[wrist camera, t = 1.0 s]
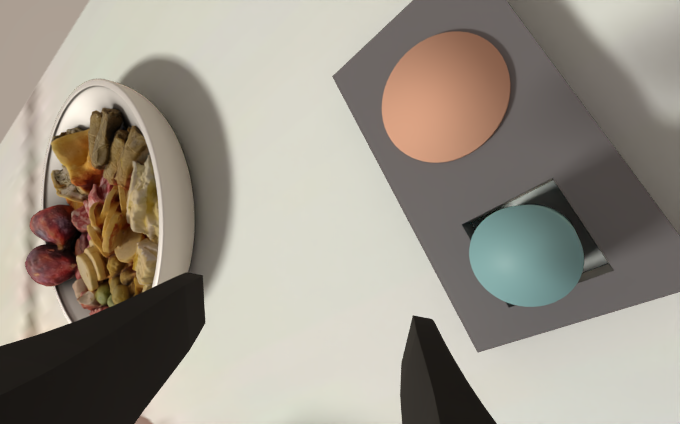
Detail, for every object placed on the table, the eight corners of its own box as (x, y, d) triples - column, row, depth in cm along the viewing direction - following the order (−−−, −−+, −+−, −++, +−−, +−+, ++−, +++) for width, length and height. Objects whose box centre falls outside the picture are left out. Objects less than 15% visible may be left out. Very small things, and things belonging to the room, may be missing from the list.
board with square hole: (696, 272, 15) (713, 281, 13) (484, 339, 20) (477, 352, 18) (476, -31, 20) (468, -52, 18) (348, 85, 25) (332, 76, 23)
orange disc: (515, 20, 17) (515, 17, 17) (505, 162, 17) (504, 162, 17) (387, 47, 21) (385, 45, 20) (380, 163, 21) (378, 162, 21)
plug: (581, 206, 17) (588, 209, 12) (574, 284, 18) (579, 317, 12) (495, 202, 19) (472, 202, 14) (490, 271, 20) (465, 295, 15)
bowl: (149, 35, 39) (66, 2, 33) (252, 264, 31) (169, 281, 24) (67, 186, 53) (-2, 184, 47) (123, 370, 45) (48, 399, 39)
